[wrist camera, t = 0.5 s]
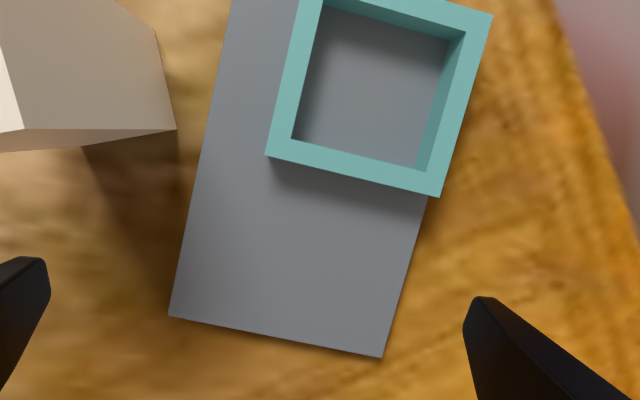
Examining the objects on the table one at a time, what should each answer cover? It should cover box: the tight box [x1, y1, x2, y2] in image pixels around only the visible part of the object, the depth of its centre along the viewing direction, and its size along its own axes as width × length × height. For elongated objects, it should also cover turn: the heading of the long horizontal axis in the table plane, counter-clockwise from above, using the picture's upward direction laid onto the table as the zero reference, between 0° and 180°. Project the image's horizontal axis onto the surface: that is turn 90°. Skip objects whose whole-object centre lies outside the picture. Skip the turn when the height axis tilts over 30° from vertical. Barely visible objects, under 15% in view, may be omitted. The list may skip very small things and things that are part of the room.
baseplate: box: [167, 0, 494, 358], centre depth 21 cm, size 19×12×3 cm, turn 166°
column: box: [0, 0, 177, 153], centre depth 14 cm, size 5×5×13 cm
